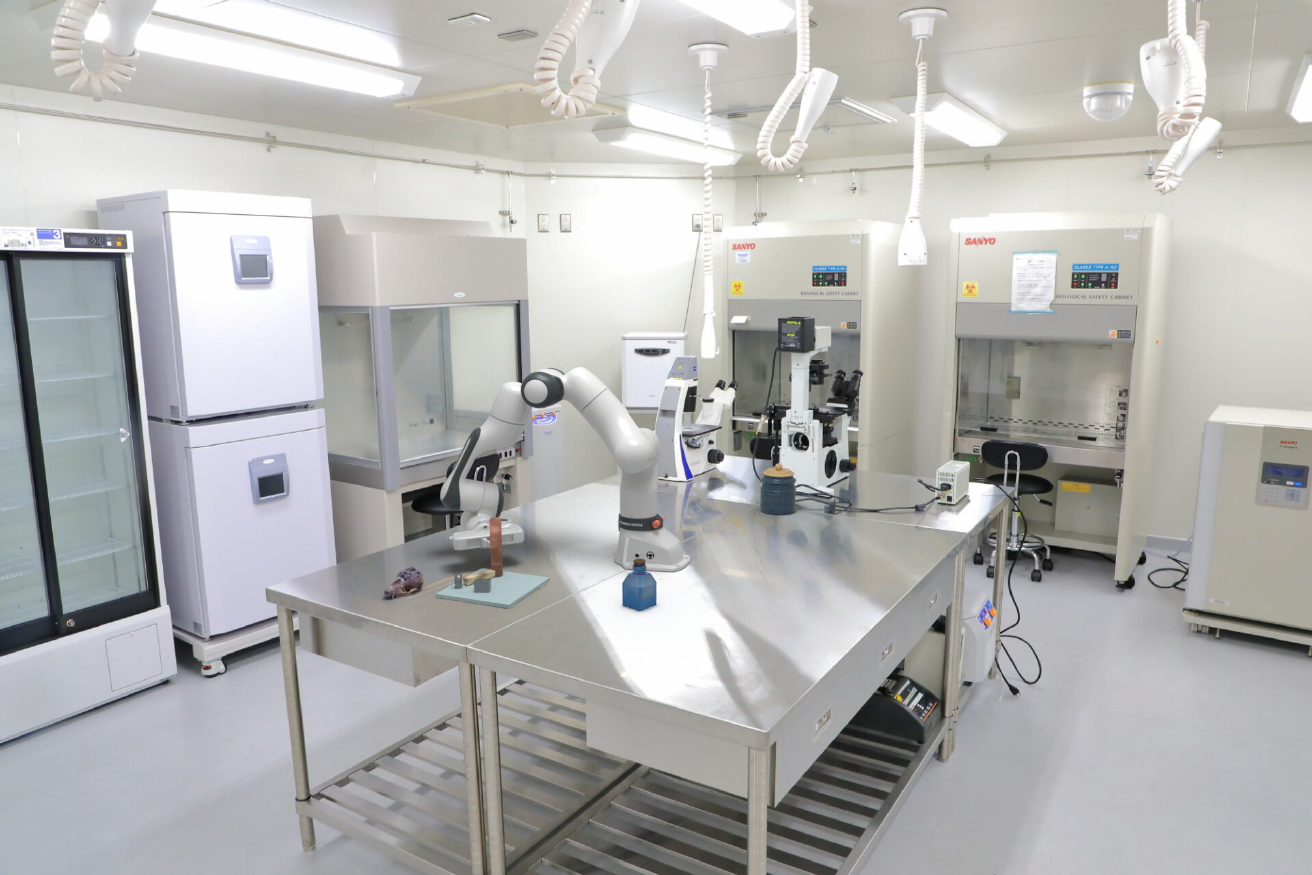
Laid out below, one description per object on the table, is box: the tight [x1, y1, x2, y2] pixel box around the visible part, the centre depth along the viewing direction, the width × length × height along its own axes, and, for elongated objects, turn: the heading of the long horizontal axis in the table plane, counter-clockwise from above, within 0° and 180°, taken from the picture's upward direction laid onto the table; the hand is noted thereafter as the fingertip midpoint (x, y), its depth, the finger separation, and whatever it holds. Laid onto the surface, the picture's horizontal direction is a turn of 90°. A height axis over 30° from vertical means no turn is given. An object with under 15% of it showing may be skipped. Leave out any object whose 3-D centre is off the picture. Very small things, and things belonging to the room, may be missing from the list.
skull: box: [383, 566, 425, 600], centre depth 227 cm, size 12×8×6 cm, turn 145°
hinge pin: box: [453, 573, 463, 589], centre depth 227 cm, size 2×2×4 cm
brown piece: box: [462, 517, 504, 585], centre depth 232 cm, size 12×3×16 cm, turn 139°
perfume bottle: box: [621, 559, 658, 612], centre depth 217 cm, size 6×6×12 cm
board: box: [435, 568, 551, 609], centre depth 230 cm, size 22×22×1 cm
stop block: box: [474, 579, 491, 593], centre depth 225 cm, size 4×2×3 cm, turn 89°
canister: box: [759, 463, 797, 516], centre depth 309 cm, size 13×13×18 cm
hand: (494, 545), depth 238 cm, fingers closed
